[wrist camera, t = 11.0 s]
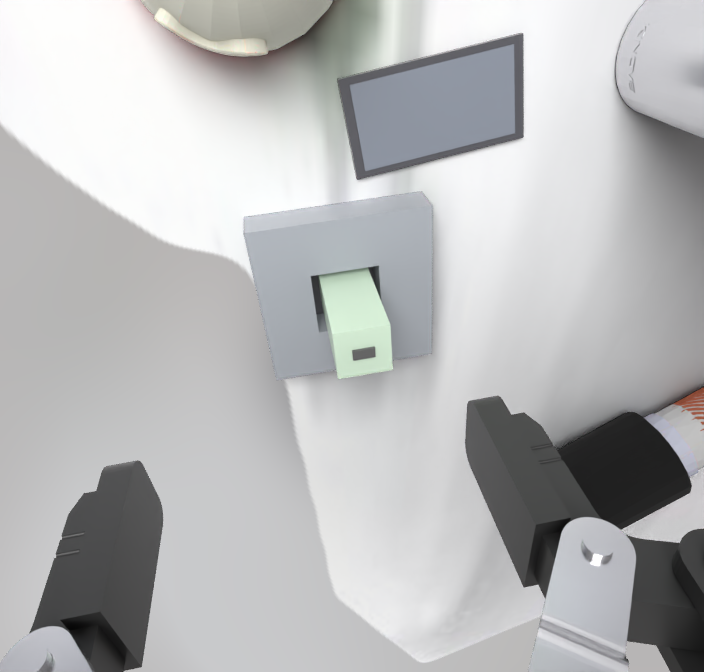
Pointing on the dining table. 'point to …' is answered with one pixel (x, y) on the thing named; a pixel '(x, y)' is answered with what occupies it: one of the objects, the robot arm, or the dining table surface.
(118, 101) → the dining table surface
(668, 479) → the bottle
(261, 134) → the dining table surface
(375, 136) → the panel
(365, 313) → the block
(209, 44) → the kitchen timer
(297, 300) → the plate
